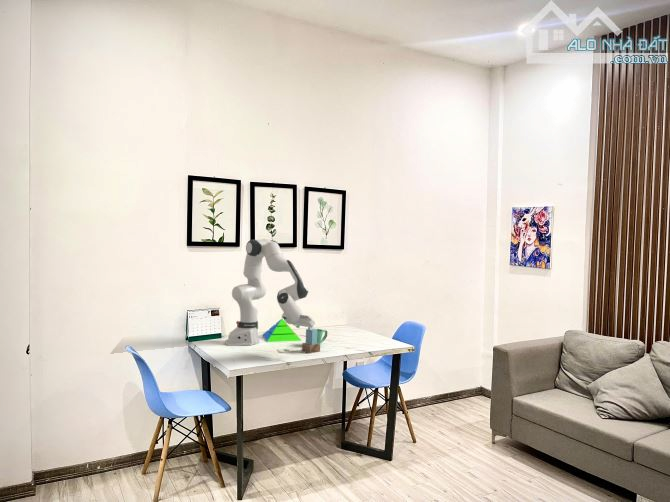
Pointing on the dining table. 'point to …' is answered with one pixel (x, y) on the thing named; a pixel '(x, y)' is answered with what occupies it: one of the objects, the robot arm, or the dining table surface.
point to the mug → (319, 335)
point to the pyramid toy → (280, 333)
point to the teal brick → (311, 336)
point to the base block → (310, 348)
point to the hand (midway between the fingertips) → (304, 328)
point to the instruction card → (285, 350)
